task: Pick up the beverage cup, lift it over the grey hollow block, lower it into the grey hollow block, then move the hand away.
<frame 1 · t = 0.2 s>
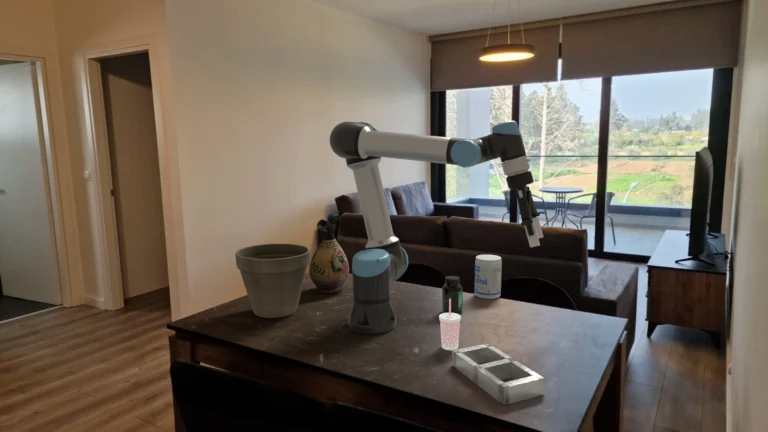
hand: (537, 242, 151), 27 cm above the table, tool tilted 15°, fingers open, 13 cm apart
supplement bottle: (452, 312, 172), on the table
beverage cup: (449, 347, 143), on the table
grey hollow block: (495, 379, 123), on the table
ceramic jug: (331, 289, 201), on the table
plant pot: (276, 312, 175), on the table
supplement tub: (487, 296, 189), on the table
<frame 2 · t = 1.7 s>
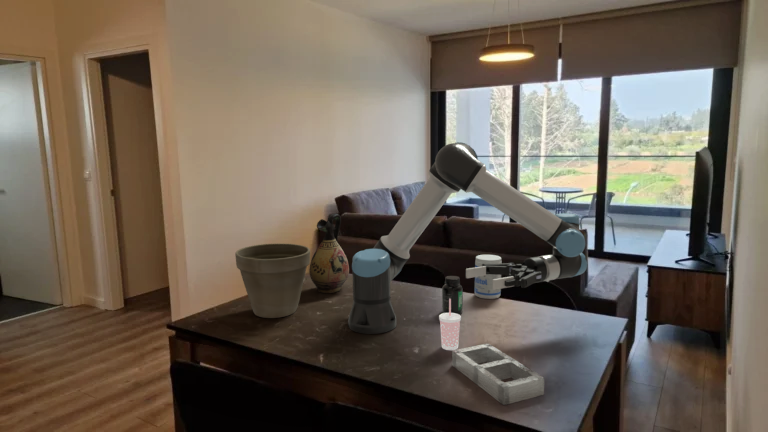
hand: (479, 278, 144), 18 cm above the table, tool horizontal, fingers open, 13 cm apart
nothing on the table moved.
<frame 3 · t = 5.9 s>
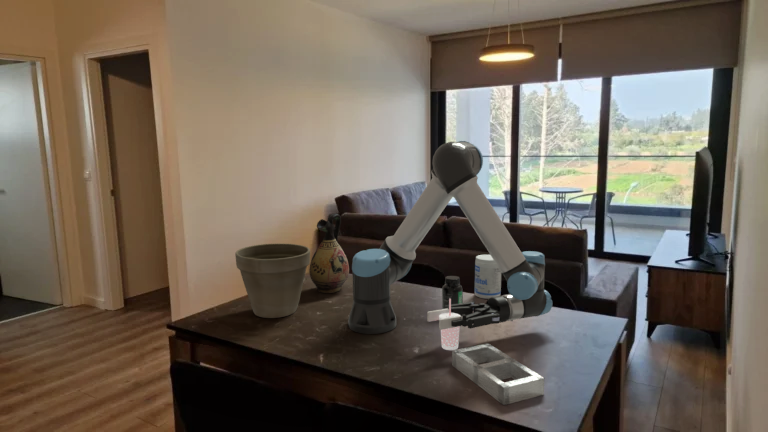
hand: (433, 320, 140), 9 cm above the table, tool horizontal, fingers closed on beverage cup, 6 cm apart
beverage cup: (449, 347, 143), on the table, touching gripper
everything else where it was.
when the fingers open (9 cm above the table, at t = 11.5 s): beverage cup stays where it is, resting in grey hollow block.
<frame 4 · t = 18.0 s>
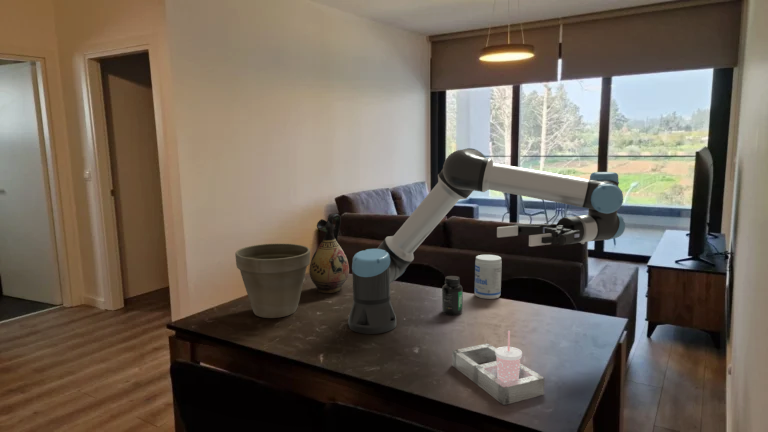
hand: (512, 236, 134), 32 cm above the table, tool horizontal, fingers open, 13 cm apart
beverage cup: (507, 388, 119), resting in grey hollow block
everything else where it was.
at the end: beverage cup 0.1 cm from the target spot, resting in grey hollow block; beverage cup tilted 0°; the gripper is holding nothing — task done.
